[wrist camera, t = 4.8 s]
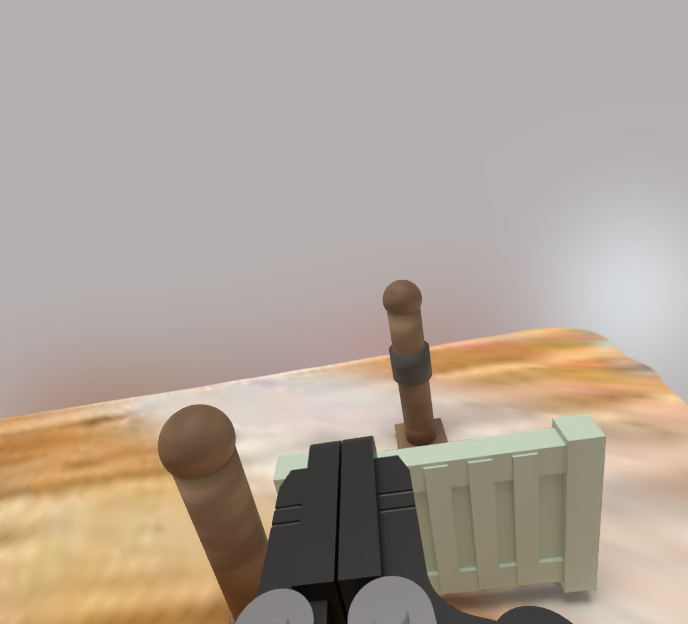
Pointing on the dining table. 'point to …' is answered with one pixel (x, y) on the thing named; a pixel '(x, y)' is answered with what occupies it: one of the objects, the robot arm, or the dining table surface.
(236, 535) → the hinge post
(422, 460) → the gate
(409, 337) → the post
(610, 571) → the dining table surface
